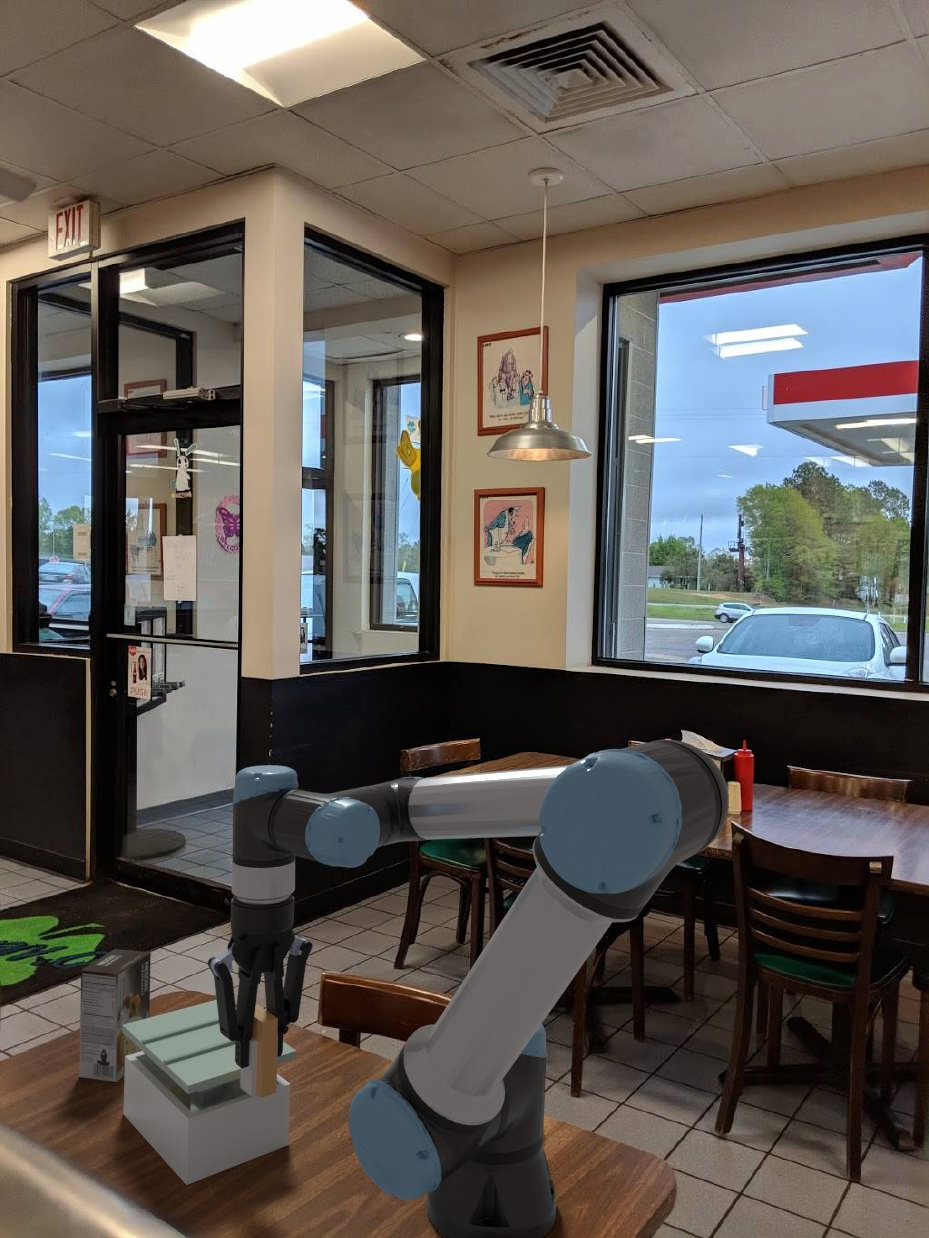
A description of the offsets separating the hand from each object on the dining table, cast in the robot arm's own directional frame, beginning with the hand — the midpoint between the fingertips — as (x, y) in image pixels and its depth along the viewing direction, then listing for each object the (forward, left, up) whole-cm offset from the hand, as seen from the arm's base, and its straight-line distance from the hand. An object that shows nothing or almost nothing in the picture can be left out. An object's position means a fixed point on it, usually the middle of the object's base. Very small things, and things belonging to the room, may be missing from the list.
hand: (258, 1086), depth 116 cm
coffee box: (+38, +3, -12) cm, 40 cm away
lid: (+11, 0, -1) cm, 11 cm away
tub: (+14, 0, -11) cm, 18 cm away
